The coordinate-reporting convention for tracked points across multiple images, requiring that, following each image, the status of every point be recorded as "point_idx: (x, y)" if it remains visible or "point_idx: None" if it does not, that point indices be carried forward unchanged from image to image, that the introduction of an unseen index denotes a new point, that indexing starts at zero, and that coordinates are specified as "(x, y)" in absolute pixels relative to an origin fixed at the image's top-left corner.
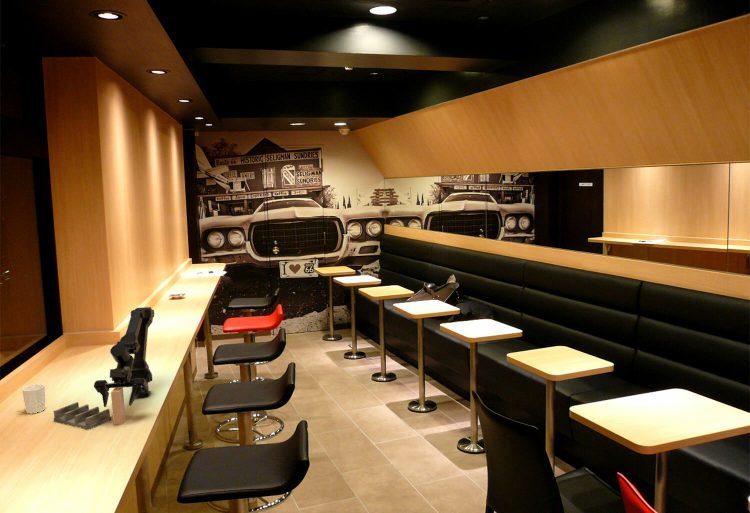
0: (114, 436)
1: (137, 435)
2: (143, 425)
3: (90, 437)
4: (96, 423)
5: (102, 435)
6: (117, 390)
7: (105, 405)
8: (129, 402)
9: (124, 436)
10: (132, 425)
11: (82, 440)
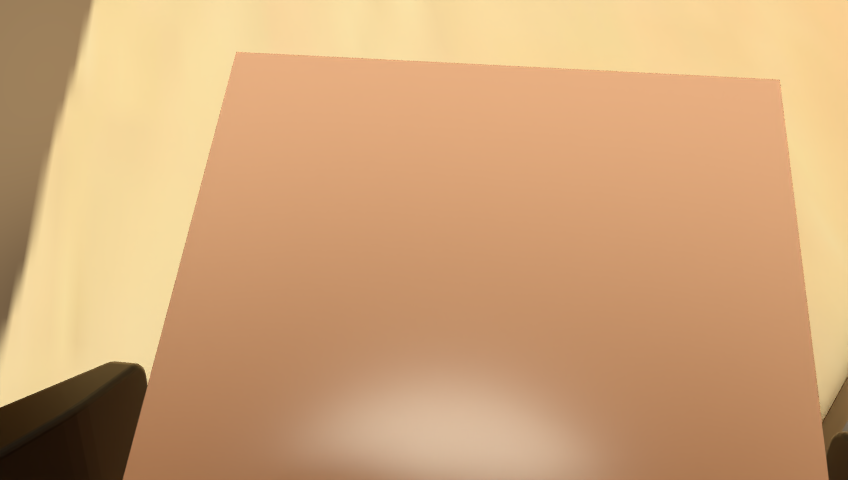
0: (426, 49)
1: (167, 26)
2: (95, 297)
3: (722, 76)
4: (839, 431)
5: None
6: (386, 318)
7: (840, 473)
8: (100, 379)
9: (309, 28)
10: None
11: (785, 18)
